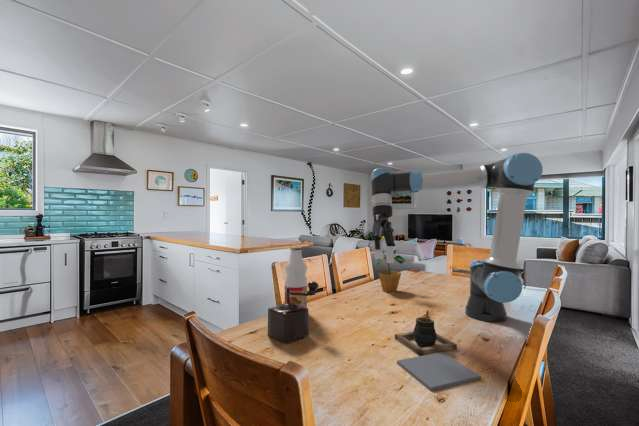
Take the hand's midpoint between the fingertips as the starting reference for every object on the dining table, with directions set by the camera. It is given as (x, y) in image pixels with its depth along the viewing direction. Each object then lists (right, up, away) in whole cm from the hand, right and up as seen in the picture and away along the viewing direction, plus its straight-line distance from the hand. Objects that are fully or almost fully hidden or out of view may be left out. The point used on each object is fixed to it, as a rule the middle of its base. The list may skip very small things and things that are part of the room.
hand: (384, 261), depth 114 cm
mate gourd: (+10, -25, -15) cm, 30 cm away
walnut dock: (+10, -25, -15) cm, 30 cm away
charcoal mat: (+7, -25, -31) cm, 41 cm away
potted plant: (+14, -25, +52) cm, 59 cm away
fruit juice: (-34, -24, +14) cm, 45 cm away
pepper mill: (-33, -25, -7) cm, 42 cm away
